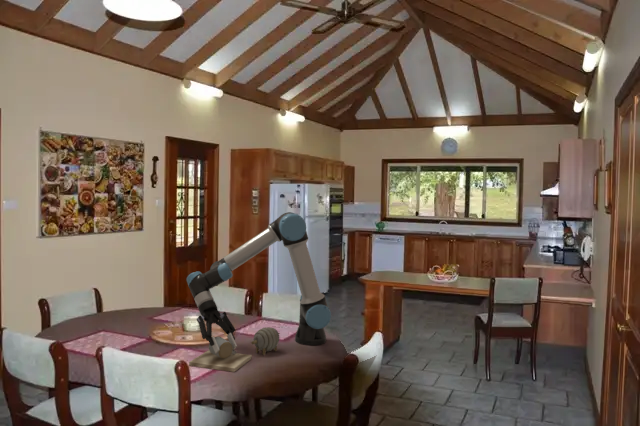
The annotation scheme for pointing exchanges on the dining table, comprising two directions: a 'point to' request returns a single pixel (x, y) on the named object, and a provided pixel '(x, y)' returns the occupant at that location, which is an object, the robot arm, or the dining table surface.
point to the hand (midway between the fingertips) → (226, 349)
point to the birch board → (220, 361)
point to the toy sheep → (266, 339)
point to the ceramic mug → (222, 348)
